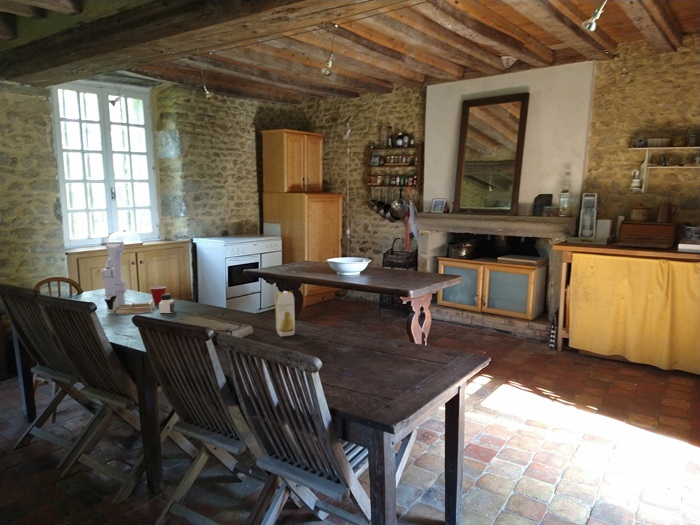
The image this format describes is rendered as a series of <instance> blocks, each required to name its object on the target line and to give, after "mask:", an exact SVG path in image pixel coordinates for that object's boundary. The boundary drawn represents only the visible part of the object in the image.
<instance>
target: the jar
mask: <svg viewBox="0 0 700 525" xmlns="http://www.w3.org/2000/svg"><path fill="white" fill-rule="evenodd" d="M116 309H117V308H116V303H115V299H114V302H113V309H112V310H109V309H108V306H107V305H106V310H107V312H108V313H115V312H117V310H116Z"/></svg>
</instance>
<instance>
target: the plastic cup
mask: <svg viewBox="0 0 700 525" xmlns="http://www.w3.org/2000/svg"><path fill="white" fill-rule="evenodd" d="M166 289H167V286H164V285H163V286H162V285H161V286H153V287H152V286H151V287H149V290H150V293H151V296H152V301H153V305H155V306H159V303H160V302H162V301H161V295H162V294H166Z"/></svg>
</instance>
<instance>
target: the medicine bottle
mask: <svg viewBox="0 0 700 525" xmlns="http://www.w3.org/2000/svg"><path fill="white" fill-rule="evenodd" d="M161 301H162V302H160V303H159V305H158V312H159V314H160V313H171V314H172V313H174V312H175V300H173V299H172V294H170V293H165V294H162V295H161ZM173 311H174V312H173Z"/></svg>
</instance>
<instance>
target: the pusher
mask: <svg viewBox="0 0 700 525" xmlns="http://www.w3.org/2000/svg"><path fill="white" fill-rule="evenodd" d="M128 304H129V307H130V308H134V304H135V303H134V301H133V300H130V303H128Z"/></svg>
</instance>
